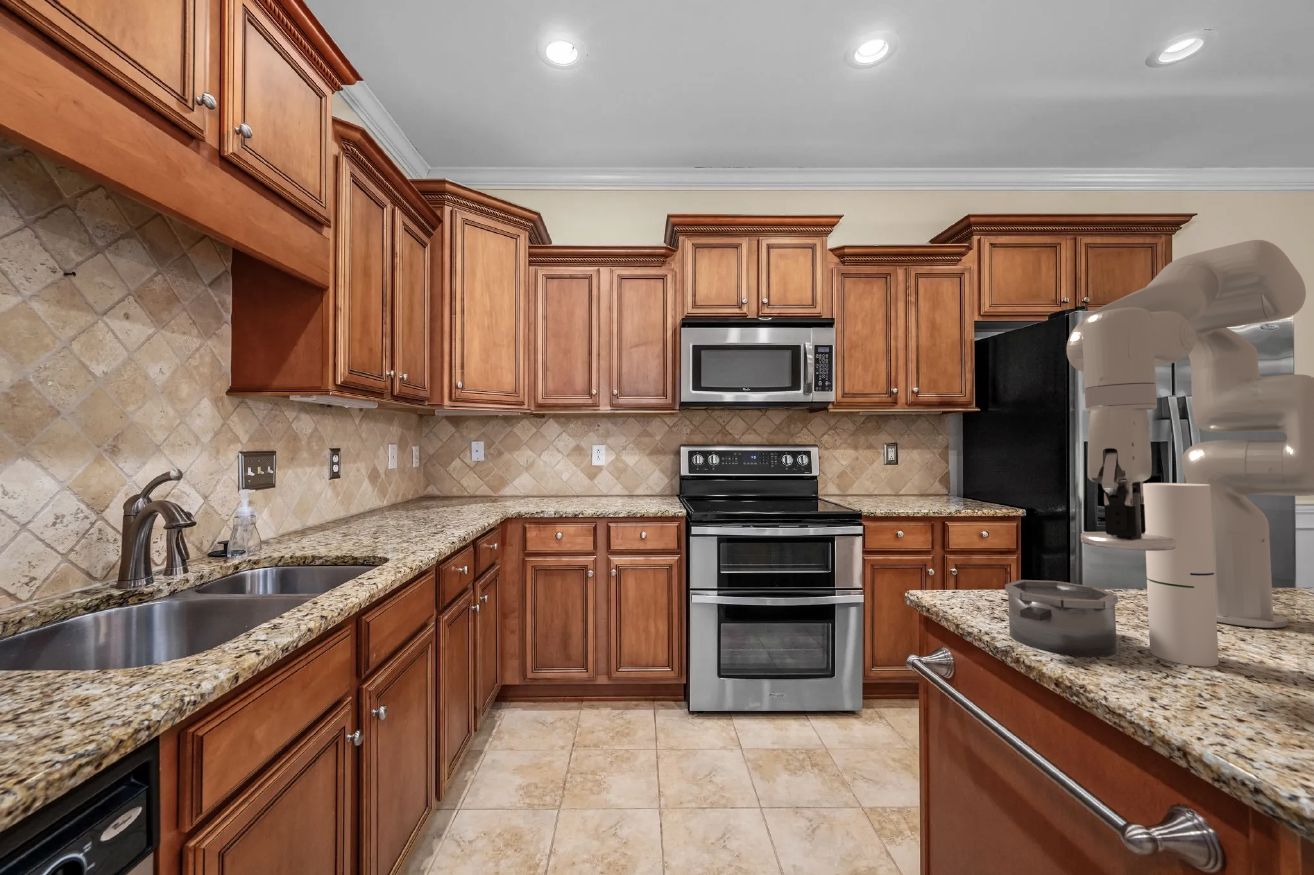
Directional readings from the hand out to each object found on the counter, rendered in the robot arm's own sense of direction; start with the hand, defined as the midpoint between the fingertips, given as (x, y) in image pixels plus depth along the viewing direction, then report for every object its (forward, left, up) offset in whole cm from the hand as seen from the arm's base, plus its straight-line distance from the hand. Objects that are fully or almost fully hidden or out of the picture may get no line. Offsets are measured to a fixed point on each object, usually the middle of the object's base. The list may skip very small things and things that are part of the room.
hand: (1125, 532), depth 75 cm
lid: (0, 0, -2) cm, 2 cm away
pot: (-7, -10, -19) cm, 22 cm away
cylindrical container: (-13, +3, -19) cm, 23 cm away
